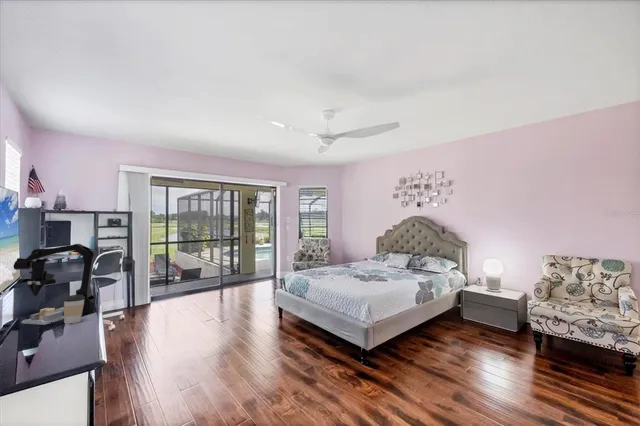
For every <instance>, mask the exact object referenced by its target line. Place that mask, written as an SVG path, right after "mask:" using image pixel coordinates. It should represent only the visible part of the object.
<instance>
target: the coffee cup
mask: <svg viewBox="0 0 640 426" xmlns="http://www.w3.org/2000/svg"><path fill="white" fill-rule="evenodd" d="M84 299H85V297H84V296H83V295H76V294H72V295H68V296H66V298H64V299H63V303H64V304H63V316H64V319H63V322H64V323H65V324H64V325H70V324H69V323H73V324H77V322H78V323H80V322H81V320H82V315H83V314H82V311H83V306H84Z"/></svg>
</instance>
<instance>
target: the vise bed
mask: <svg viewBox="0 0 640 426" xmlns="http://www.w3.org/2000/svg"><path fill="white" fill-rule="evenodd" d="M61 320H64V315H63V311H58V310H57V311H55V312H54V313H51V314H47V315H44V320H31V318H29V319H23V320H22V321H21V324H25V325H26V324H27V325H41V326H42V325H43V326H44V325H48V324H52V323H55V322H58V321H61ZM51 322H52V323H51Z"/></svg>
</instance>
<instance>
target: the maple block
mask: <svg viewBox="0 0 640 426" xmlns="http://www.w3.org/2000/svg"><path fill="white" fill-rule="evenodd" d="M55 310H56V308H55V307H53V308H52V307H45V308H42V309H39V313H40V316H39V320H44V315H47V314H51V313H54V312H56V311H55Z"/></svg>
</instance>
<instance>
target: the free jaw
mask: <svg viewBox="0 0 640 426" xmlns="http://www.w3.org/2000/svg"><path fill="white" fill-rule="evenodd" d="M39 316H40V312H37V313H33V314H30V315H29V319H31V320H39Z"/></svg>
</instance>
